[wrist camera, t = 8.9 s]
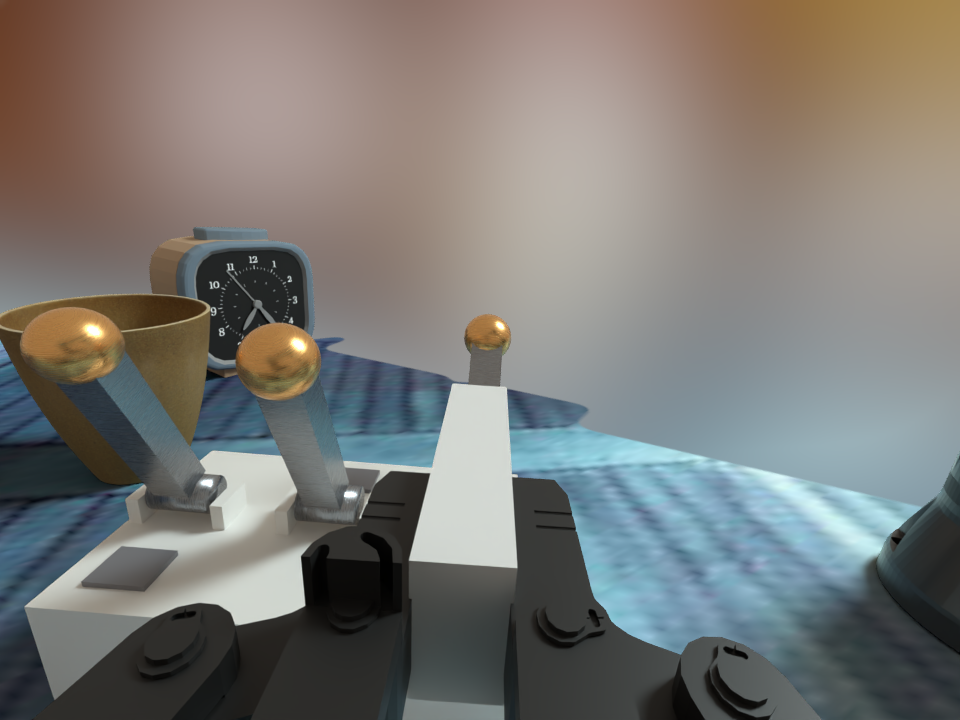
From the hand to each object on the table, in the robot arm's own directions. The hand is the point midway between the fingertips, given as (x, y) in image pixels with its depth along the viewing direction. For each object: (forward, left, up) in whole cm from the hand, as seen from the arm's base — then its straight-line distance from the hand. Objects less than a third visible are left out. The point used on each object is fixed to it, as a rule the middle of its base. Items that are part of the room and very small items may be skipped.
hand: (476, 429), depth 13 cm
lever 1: (+17, -11, -12) cm, 23 cm away
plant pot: (+33, -27, -21) cm, 47 cm away
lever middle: (+8, -11, -12) cm, 18 cm away
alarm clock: (+39, -58, -21) cm, 73 cm away
